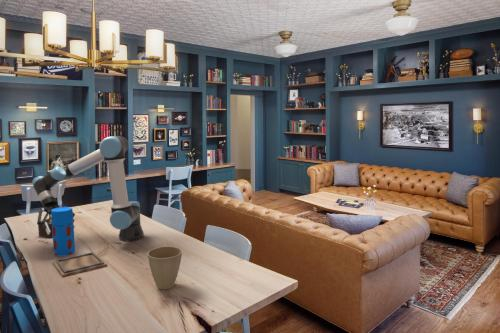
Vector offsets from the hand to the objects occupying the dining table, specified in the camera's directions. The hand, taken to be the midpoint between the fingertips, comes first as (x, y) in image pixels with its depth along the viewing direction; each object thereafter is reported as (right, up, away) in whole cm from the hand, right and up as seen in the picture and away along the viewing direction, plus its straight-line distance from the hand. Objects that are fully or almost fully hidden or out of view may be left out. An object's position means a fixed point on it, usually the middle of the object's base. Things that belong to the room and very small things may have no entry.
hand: (62, 230), depth 207 cm
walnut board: (+17, -15, -15) cm, 27 cm away
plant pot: (+67, -18, -40) cm, 80 cm away
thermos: (0, -13, +2) cm, 13 cm away
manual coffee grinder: (-23, -9, +36) cm, 43 cm away
